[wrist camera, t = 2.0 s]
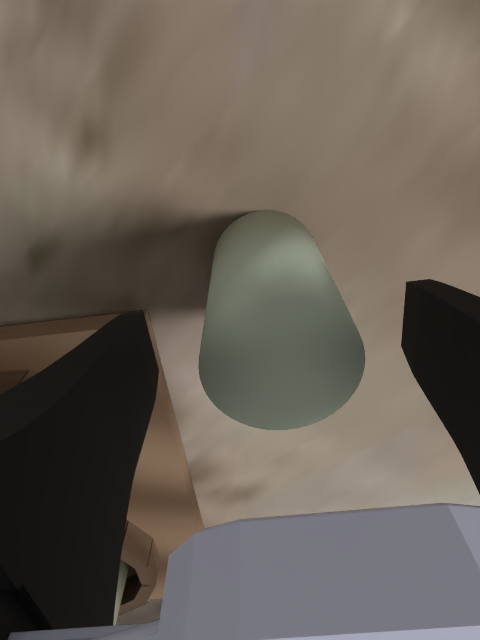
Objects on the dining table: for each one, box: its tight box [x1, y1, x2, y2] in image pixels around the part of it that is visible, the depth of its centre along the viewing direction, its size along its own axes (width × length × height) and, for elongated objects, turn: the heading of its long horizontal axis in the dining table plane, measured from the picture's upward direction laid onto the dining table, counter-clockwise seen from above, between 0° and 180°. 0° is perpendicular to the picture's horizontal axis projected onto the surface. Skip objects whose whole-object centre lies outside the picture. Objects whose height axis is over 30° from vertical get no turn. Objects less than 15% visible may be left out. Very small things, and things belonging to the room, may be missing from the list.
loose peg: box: [199, 210, 365, 430], centre depth 13 cm, size 4×4×7 cm
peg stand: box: [0, 310, 204, 626], centre depth 19 cm, size 19×12×8 cm, turn 7°
